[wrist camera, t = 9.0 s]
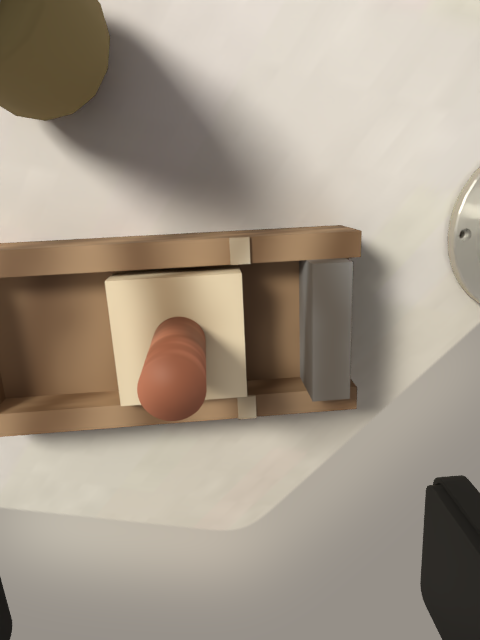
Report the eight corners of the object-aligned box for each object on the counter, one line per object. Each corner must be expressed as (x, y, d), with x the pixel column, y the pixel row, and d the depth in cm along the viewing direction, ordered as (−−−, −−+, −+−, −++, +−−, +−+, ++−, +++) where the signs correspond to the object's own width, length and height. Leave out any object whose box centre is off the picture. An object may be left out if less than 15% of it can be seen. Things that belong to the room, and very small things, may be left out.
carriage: (237, 264, 30) (254, 300, 20) (242, 376, 32) (260, 458, 23) (114, 271, 30) (71, 312, 20) (128, 385, 32) (95, 472, 22)
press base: (340, 225, 32) (370, 233, 26) (338, 382, 36) (364, 419, 30) (-42, 245, 31) (-99, 258, 25) (-7, 408, 34) (-50, 453, 28)
